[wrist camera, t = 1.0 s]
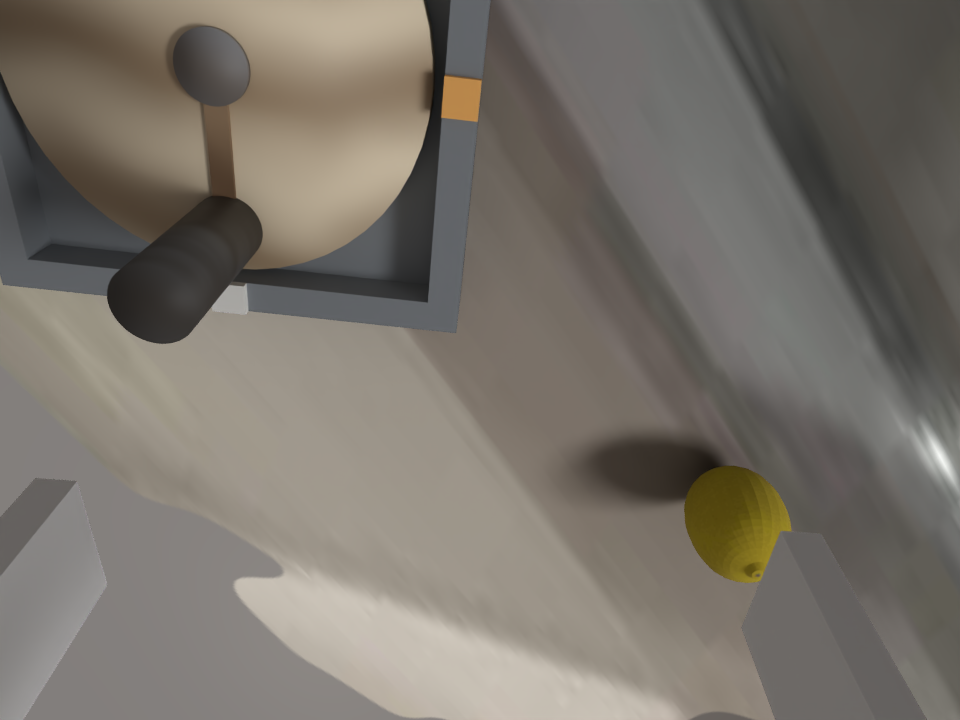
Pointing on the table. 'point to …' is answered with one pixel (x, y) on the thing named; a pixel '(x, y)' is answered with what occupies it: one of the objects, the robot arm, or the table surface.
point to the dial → (222, 129)
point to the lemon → (735, 521)
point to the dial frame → (302, 287)
